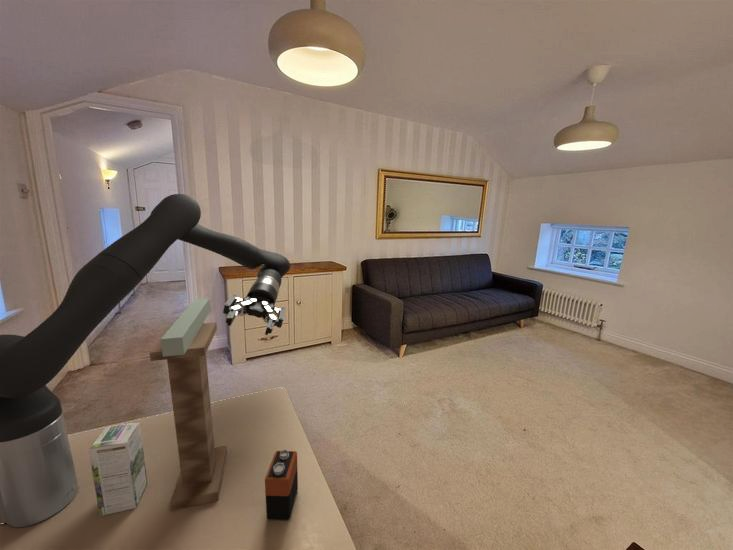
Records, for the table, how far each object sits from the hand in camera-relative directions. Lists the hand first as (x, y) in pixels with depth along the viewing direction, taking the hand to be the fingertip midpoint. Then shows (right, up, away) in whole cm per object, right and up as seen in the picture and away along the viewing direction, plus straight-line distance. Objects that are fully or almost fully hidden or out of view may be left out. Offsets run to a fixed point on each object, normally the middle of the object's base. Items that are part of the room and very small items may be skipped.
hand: (248, 327), depth 69 cm
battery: (+11, -32, -11) cm, 36 cm away
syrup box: (-19, -31, -11) cm, 38 cm away
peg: (-7, +2, -11) cm, 13 cm away
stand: (-7, -30, -7) cm, 32 cm away
